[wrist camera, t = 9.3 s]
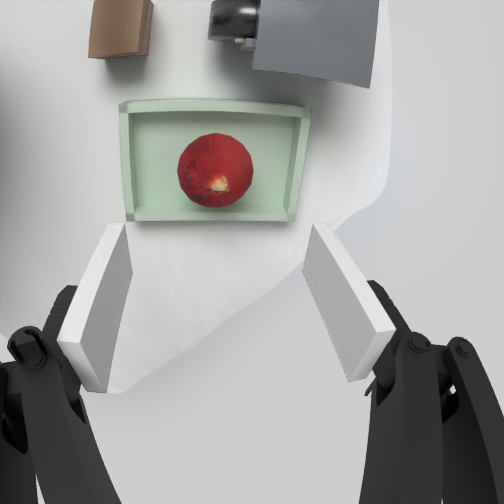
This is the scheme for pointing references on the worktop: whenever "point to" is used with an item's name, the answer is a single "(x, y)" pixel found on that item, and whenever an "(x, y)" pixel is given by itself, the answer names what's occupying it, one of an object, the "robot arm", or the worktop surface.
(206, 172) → the onion
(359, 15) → the caster wheel
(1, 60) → the worktop surface
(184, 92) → the worktop surface
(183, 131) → the tray
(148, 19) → the block
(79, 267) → the worktop surface
